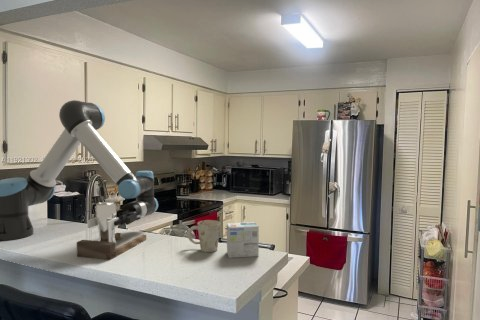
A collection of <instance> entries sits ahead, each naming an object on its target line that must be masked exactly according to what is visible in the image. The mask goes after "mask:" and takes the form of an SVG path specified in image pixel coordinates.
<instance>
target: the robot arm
mask: <svg viewBox="0 0 480 320" xmlns="http://www.w3.org/2000/svg"><path fill="white" fill-rule="evenodd" d="M58 115H59V120H60V122H61V125H62V127H63V128H64V129H63V131H62V133H61V134H60V135H59V137H58V138H57V140H56V141H55V142H54V144H53V145H52V147H51V148H50V149H49V151H48V153H47V154H46V155H45V157H44V159H43V160H42V161H41V163H40V164H39V165H38V167H37V168H36V169H33V170H31V171H30V172H29V173H28V174H27V176H26V178H25V177H11V178H5V179H1V180H0V241H11V240H17V239H18V240H19V239H24V238H26V237H29V236H32V235H33V234H34V226H33V224H32V221H31V218H30V215H29V207H31V206H34V205H35V206H37V205H40V204H44V203H45V202H48V201H49V200H51V198H52V197H53V196H54V195H55V193H56V192H55V191H56V188H55V187H56V185H57V182H56V179H57V177H58V176H59V175H60V173H61V172H62V170H63V169H64V168H65V166H66V165H67V163H68V162H69V161H70V159H71V158H72V156H73V155H74V153H75V152H76V151H77V149H78V148H79V146H80V145H82V146H83V147H84V148H85V149H86V150H87V152H88V153H89V154H90V155H91V157H92V158H93V159H94V160H95V161H96V162H97V163H98V165H99V166H100V167H101V169H103V170H104V172H105V173H106V174H107V175H108V176H109V177H110V179H111V180H112V181H113V182H114V183H115V184H116V186H117V190H118V195H119V196H120V197H121V198H122V199H125V200H130V199H131V200H132V199H135V200H134V201H131V202H129V203H125V204H124V205H123V206H122V207H121V208H120V209H118V210H117V218H115V219H112V220H109V221H107V222H106V224H107V229H108V230H109V229H111V228H113V227H116V228H117V227H118V226H120V225H121V226H124V224H125V225H126V226H128V225H130V224H132V223H134V222H137V221H139V220H141V219H142V218H144V217H148V216H150V215H151V216H152V215H153V214H154V213H155V212H156V211H157V210H158V208H159V202H158V199H157V198H155V178H154V172H153V171H152V170H137V171H136V172H135V174H134V173H133V172H132V171H131V169H130V168H129V167H128V166H127V165H126V163H125V162H124V161H123V160H122V159H121V158H120V156H118V154H117V153H116V152H115V151H114V150H113V149H112V147H111V146H110V145H109V144H108V142H107V141H106V140H105V139H104V138H103V137H102V136H101V134H100V133H99V132H98V131H97V130H99V129H101V128H102V127H103V126H104V125H105V122H106V121H105V120H106V116H105V112H104V110H103V108H101V107H100V106H99V105H97V104H96V103H95V104H94V103H93V102H86V101H81V100H76V99H74V100H70V101H67V102H64V104H63V105H62V106H61V107H60V109H59V114H58ZM86 223H87V229H91V228H93V227H97V221H96V214H94V215H93V218H91V219H87V221H86Z"/></svg>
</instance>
